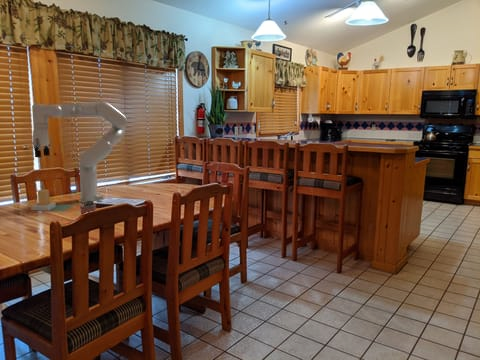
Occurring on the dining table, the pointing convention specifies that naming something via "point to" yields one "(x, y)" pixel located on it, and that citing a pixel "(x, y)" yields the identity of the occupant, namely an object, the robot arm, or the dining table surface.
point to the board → (50, 207)
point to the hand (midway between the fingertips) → (42, 156)
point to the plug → (43, 197)
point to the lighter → (87, 206)
